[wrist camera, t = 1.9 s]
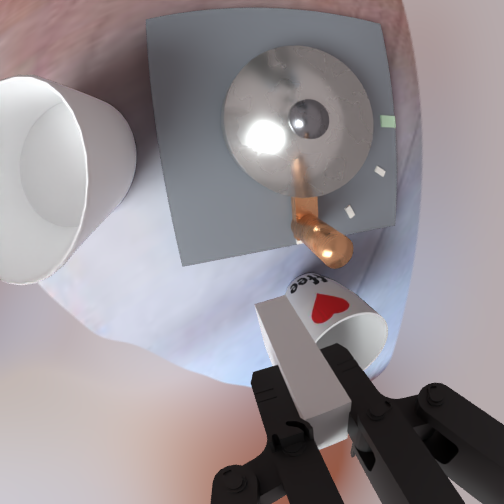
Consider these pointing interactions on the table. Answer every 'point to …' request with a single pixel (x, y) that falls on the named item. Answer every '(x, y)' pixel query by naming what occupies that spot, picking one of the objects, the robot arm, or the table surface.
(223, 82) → the board
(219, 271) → the table surface
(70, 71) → the table surface
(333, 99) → the dial
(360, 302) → the cup
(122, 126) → the cup
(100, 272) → the table surface
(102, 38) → the table surface
